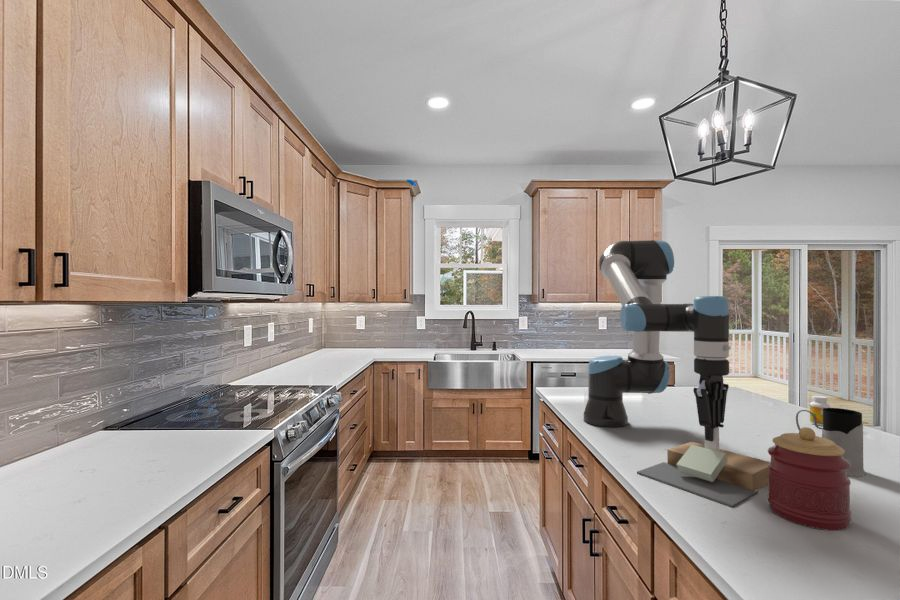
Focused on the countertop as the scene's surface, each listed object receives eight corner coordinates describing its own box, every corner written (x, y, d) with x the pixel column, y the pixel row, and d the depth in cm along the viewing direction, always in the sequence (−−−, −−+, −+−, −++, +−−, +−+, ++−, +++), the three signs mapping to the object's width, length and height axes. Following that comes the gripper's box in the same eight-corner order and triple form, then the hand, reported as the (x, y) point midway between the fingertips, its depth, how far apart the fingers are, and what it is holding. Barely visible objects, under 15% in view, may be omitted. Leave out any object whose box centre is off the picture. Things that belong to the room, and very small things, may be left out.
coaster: (678, 471, 108) (676, 464, 107) (693, 451, 112) (691, 444, 111) (712, 482, 101) (710, 474, 101) (727, 460, 105) (725, 453, 105)
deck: (667, 464, 116) (667, 449, 116) (691, 455, 122) (691, 441, 122) (752, 491, 99) (752, 474, 99) (775, 480, 106) (775, 463, 106)
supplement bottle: (806, 421, 157) (806, 394, 157) (822, 422, 157) (822, 395, 157) (816, 426, 152) (816, 398, 152) (833, 426, 151) (833, 398, 151)
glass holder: (859, 479, 106) (858, 417, 106) (789, 461, 118) (789, 405, 118) (871, 471, 111) (870, 412, 111) (803, 455, 123) (802, 401, 123)
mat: (636, 473, 110) (636, 471, 110) (663, 463, 117) (663, 462, 117) (732, 507, 92) (732, 505, 92) (757, 493, 98) (757, 491, 98)
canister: (827, 538, 80) (826, 440, 80) (753, 507, 92) (753, 423, 92) (865, 523, 85) (865, 432, 85) (791, 496, 97) (790, 416, 97)
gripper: (714, 361, 102) (714, 463, 102) (740, 357, 109) (740, 452, 109) (682, 358, 108) (682, 453, 108) (708, 354, 116) (709, 444, 115)
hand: (711, 453), depth 109 cm, fingers closed
